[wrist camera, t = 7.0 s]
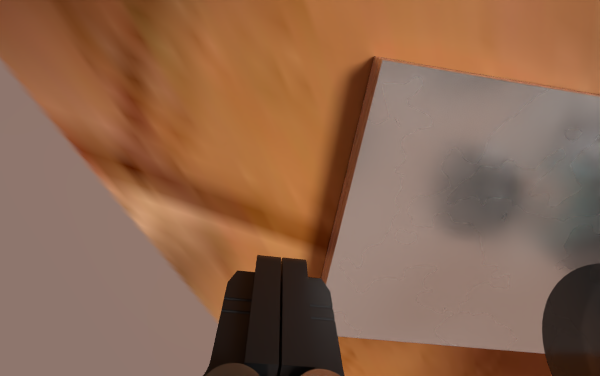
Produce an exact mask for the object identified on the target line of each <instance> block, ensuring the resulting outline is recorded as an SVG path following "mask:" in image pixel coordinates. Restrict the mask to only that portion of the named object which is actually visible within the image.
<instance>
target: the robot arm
mask: <svg viewBox="0 0 600 376" xmlns="http://www.w3.org/2000/svg"><path fill="white" fill-rule="evenodd" d="M332 308H333V305H332V299H331V293H330V291H329V289H328V288H327V286H326V285H325V283H324V282H323V280H322V279H320V278H310V277H308V274H307V263H306V260H301V259H292V258H282V261H281V257H271V256H261V255H257V261H256V269H255V272H246V271H237V272H236V273H235V274H234V275H233V277H232V278H231V279H230V280H229V281H228V283H227V288H226V292H225V297H224V301H223V306H222V311H221V315H220V319H219V324H218V329H217V333H216V338H215V343H214V347H213V351H212V356H211V360H210V364H209V367H208V369H207V371H206V372H205V374H204V375H203V376H345V375H344V372H343V367H342V361H341V354H340V348H339V342H338V336H337V330H336V324H335V321H334V320H335V317H334V311H333V309H332Z"/></svg>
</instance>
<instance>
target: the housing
mask: <svg viewBox="0 0 600 376" xmlns="http://www.w3.org/2000/svg"><path fill="white" fill-rule="evenodd" d="M596 263H600V95H597V94H592V93H586V92H580V91H574V90H568V89H562V88H557V87H551V86H545V85H539V84H533V83H527V82H522V81H516V80H510V79H504V78H498V77H492V76H487V75H481V74H475V73H469V72H463V71H457V70H452V69H446V68H440V67H434V66H428V65H422V64H417V63H411V62H405V61H399V60H393V59H387V58H382V57H376V56H374V59H373V64H372V68H371V72H370V76H369V80H368V84H367V88H366V93H365V97H364V101H363V105H362V109H361V113H360V117H359V122H358V126H357V130H356V134H355V138H354V142H353V147H352V151H351V155H350V159H349V163H348V167H347V171H346V176H345V180H344V184H343V188H342V192H341V196H340V200H339V205H338V209H337V213H336V217H335V221H334V225H333V230H332V234H331V238H330V242H329V246H328V250H327V254H326V259H325V263H324V267H323V271H322V275H321V279H322V280H323V282H324V283H325V285H326V286H327V288H328V289H329V291H330V293H331V299H332V305H333V308H332V309H333V311H334V317H335V320H334V321H335V324H336V330H337V336H340V337H352V338H364V339H376V340H388V341H400V342H412V343H424V344H435V345H447V346H459V347H471V348H483V349H495V350H507V351H519V352H531V353H543V354H545V352H544V346H543V338H542V320H543V313H544V309H545V305H546V302H547V299H548V297H549V295H550V293H551V291H552V290H553V288H554V287H555V286H556V284H557V283H558V282H559V281H560V280H561V279H562V278H563V277H564V276H566V275H567V274H568V273H570V272H571V271H573V270H575V269H577V268H580V267H583V266H586V265H590V264H596Z"/></svg>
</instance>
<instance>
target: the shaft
mask: <svg viewBox="0 0 600 376" xmlns="http://www.w3.org/2000/svg"><path fill="white" fill-rule="evenodd" d="M542 338H543V346H544V352H545V355H546V359H547V363H548V365H549V368H550V371H551V374H552V376H600V263H596V264H590V265H586V266H583V267H580V268H577V269H575V270H573V271H571V272H570V273H568V274H567V275H566V276H564V277H563V278H562V279H561V280H560V281H559V282H558V283H557V284H556V286H555V287H554V288H553V290H552V291H551V293H550V295H549V297H548V299H547V302H546V305H545V309H544V313H543V320H542Z"/></svg>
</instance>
